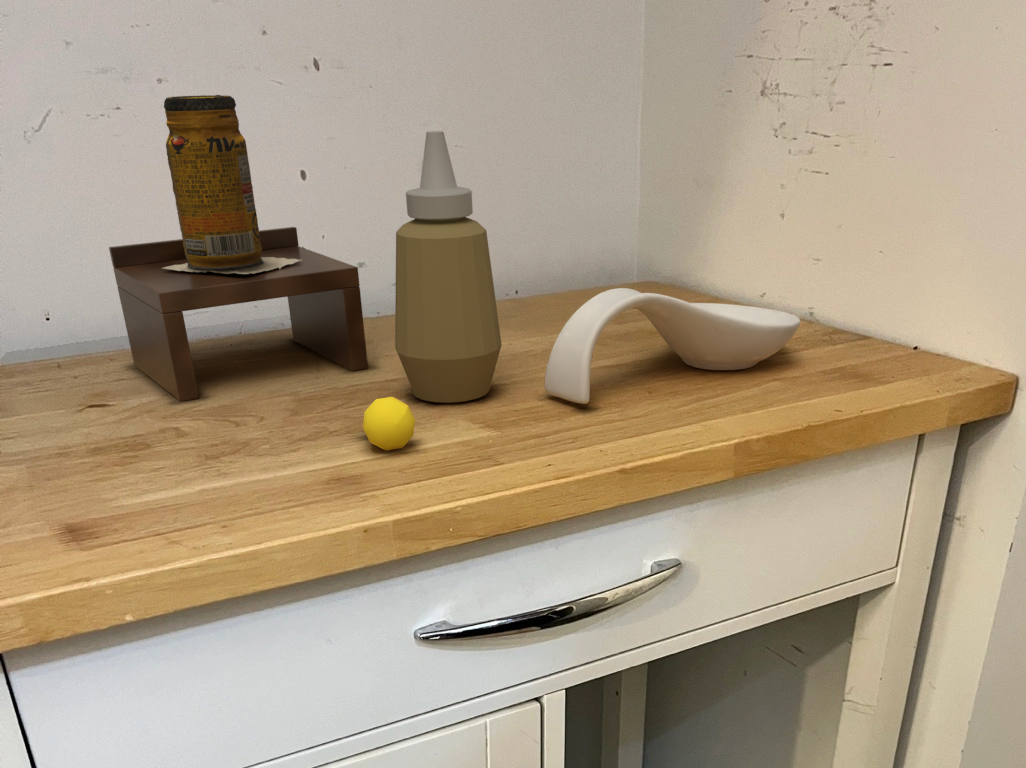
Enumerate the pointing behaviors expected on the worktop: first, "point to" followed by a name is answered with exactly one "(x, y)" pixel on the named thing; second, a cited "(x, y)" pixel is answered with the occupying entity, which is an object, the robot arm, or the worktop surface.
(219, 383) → the worktop surface
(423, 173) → the squeeze bottle
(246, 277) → the walnut shelf
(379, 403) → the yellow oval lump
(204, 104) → the condiment
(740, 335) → the spoon rest
